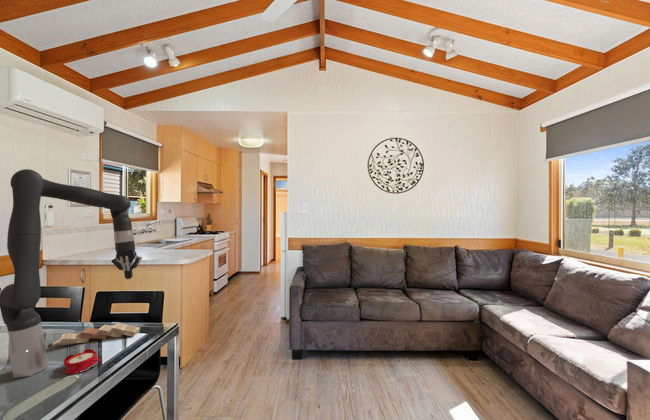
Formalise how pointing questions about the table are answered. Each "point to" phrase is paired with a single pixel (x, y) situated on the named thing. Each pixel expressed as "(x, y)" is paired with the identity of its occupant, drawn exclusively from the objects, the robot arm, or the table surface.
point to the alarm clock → (80, 361)
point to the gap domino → (92, 333)
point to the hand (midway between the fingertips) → (129, 278)
